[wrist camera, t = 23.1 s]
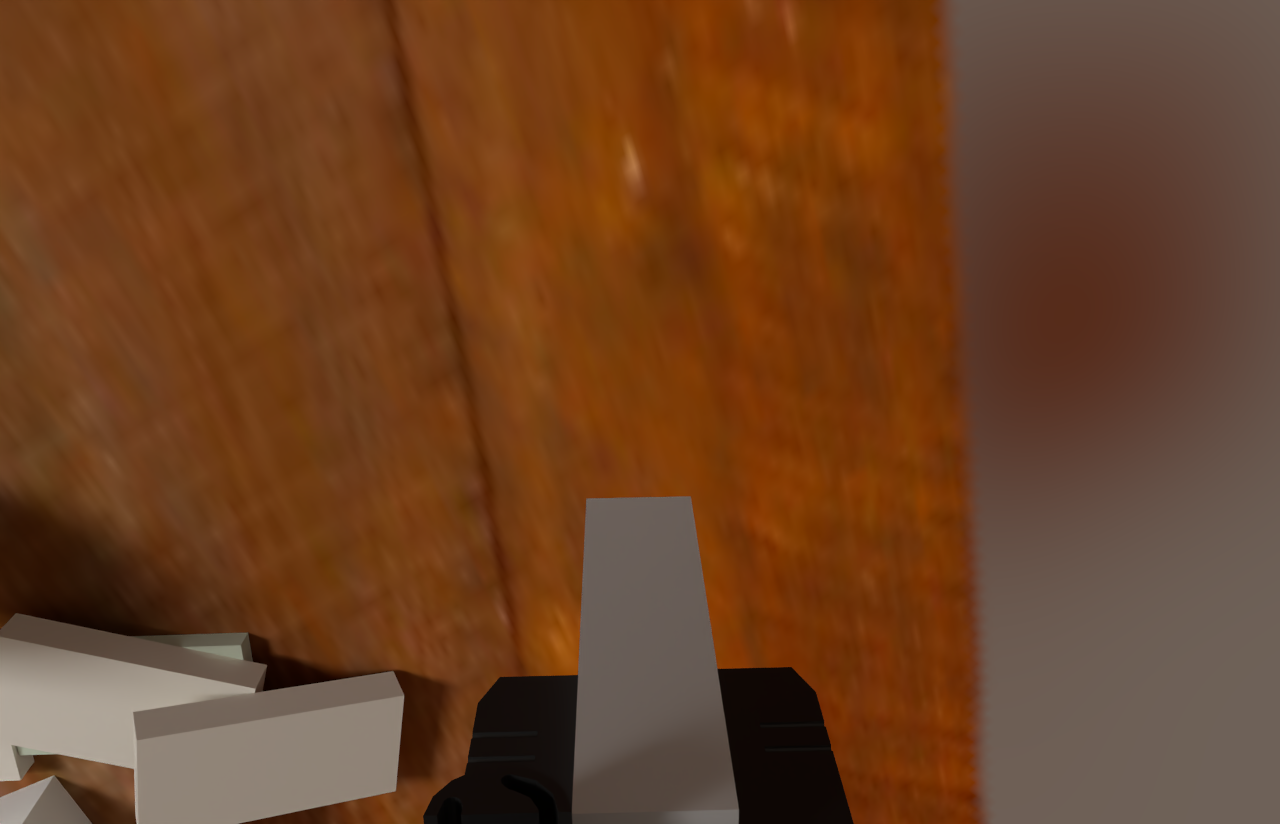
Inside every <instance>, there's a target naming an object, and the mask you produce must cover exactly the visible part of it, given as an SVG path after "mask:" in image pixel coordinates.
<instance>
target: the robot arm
mask: <svg viewBox="0 0 1280 824" xmlns="http://www.w3.org/2000/svg"><path fill="white" fill-rule="evenodd" d="M423 818H424V824H853V820H852V817H851V813H850V810H849V806H848V803H847V799H846V796H845V792H844V789H843V785H842V782H841V778H840V775H839V771H838V768H837V764H836V761H835V757H834V754H833V751H831V744H830V740H829V737H828V733H827V730H826V727H824V719H823V716H822V712H821V709H820V705H819V702H818V698H817V695H816V692H815V691H814V690H813V689H812V688H811V687H810V686H809V685H808V684H807V683H806V682H805V681H804V680H803V679H802V678H801V677H800V676H799V675H798V674H797V673H796V671H795V670H794V669H793V668H792V667H782V668H740V669H717V664H716V658H715V651H714V645H713V638H712V632H711V625H710V619H709V612H708V606H707V599H706V593H705V586H704V580H703V573H702V567H701V560H700V554H699V547H698V541H697V534H696V528H695V521H694V515H693V508H692V502H691V496H690V497H643V498H595V499H586V520H585V542H584V563H583V584H582V606H581V627H580V648H579V669H578V675H569V676H527V677H500V678H499V679H498V680H497V681H496V682H495V684H494V685H493V686H492V687H491V688H490V690H489V691H488V692H487V693H486V694H485V696H484V697H483V698H482V699H481V700H480V702H479V703H478V706H477V712H476V717H475V722H474V728H473V738H472V739H471V744H470V750H469V755H468V763H467V766H466V771H465V775H464V776H461V777H459V778H457V779H454V780H452V781H451V782H450V783H448V784H447V785H446V786H445V787H444V788H443V789H441V790H440V791H439V792H438V793H437V794H436V795H434V796H433V798H432V800H431V802H430V804H429V806H428V808H427V810H426V812H425V814H424V816H423Z"/></svg>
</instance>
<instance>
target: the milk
mask: <svg viewBox="0 0 1280 824" xmlns="http://www.w3.org/2000/svg"><path fill="white" fill-rule="evenodd" d="M0 824H92V823H91V821H90V820H89V819H88V818H87V816H86V815H85V814H84V812H83V811H82V810H81V809H80V807H79V806H78V805H77V804H76V802H75V801H74V800H73V798H72V797H71V796H70V795H69V793H68V792H67V791H66V790H65V788H64V787H63V786H62V784H61V783H60V782H59V781H58V779H57V778H56V777H55V776H51V777H49V778H46V779H44V780H42V781H39V782H37V783H34V784H32V785H29V786H27V787H25V788H22V789H20V790H17V791H15V792H12V793H10V794H8V795H5V796H3V797H0Z"/></svg>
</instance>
